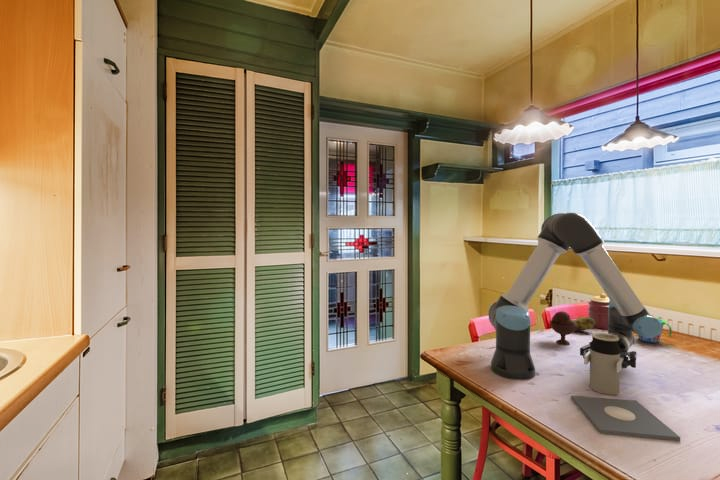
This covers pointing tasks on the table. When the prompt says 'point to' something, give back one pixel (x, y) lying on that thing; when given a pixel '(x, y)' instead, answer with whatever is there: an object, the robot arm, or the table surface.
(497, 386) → the table surface
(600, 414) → the mat
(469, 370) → the table surface
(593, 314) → the canister
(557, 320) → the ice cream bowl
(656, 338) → the snack cup
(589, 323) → the potato
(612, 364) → the travel mug
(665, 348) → the table surface
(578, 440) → the table surface
